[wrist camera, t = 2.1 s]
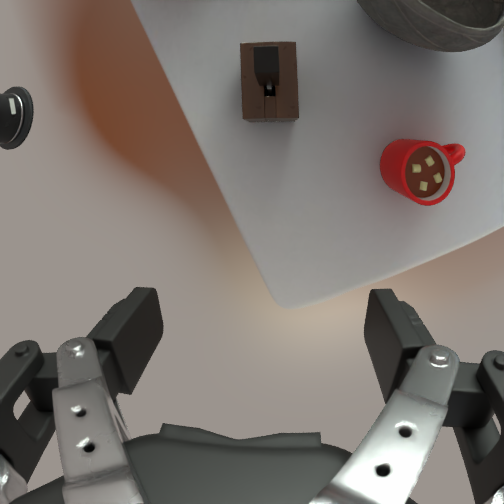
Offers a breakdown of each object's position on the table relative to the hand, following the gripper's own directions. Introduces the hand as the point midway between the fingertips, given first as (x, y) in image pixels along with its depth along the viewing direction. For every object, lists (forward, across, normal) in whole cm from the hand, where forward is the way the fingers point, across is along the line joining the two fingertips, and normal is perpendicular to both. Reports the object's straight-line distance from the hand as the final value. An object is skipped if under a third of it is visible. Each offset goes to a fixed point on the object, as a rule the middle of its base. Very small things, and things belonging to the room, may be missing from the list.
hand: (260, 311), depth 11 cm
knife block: (+32, 0, -13) cm, 35 cm away
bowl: (+33, -20, -28) cm, 48 cm away
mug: (+33, -20, -4) cm, 39 cm away
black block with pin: (+32, 0, -13) cm, 35 cm away
